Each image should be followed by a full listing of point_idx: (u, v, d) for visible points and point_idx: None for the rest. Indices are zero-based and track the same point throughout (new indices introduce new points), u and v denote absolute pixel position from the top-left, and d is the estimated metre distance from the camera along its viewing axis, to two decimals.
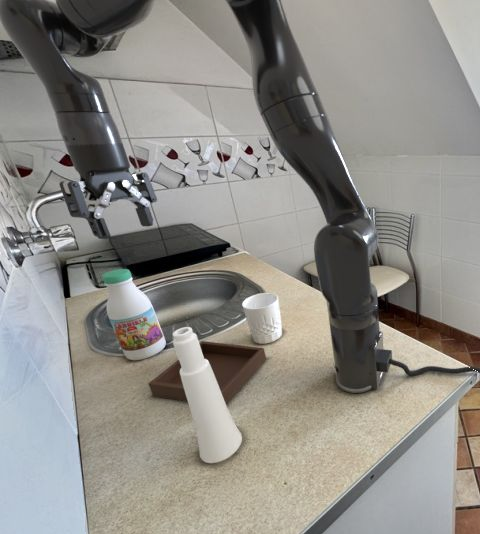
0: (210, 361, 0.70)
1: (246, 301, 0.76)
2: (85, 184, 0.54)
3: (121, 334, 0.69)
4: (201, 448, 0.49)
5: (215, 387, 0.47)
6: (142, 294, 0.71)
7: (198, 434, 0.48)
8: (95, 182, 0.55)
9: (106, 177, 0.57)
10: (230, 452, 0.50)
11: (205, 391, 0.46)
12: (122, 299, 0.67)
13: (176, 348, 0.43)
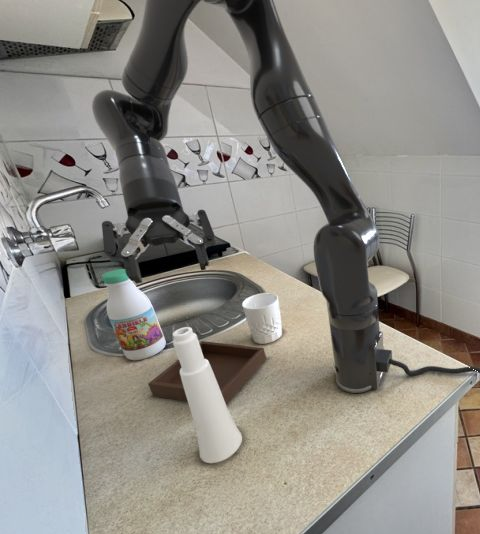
0: (210, 361, 0.70)
1: (246, 301, 0.76)
2: (125, 225, 0.50)
3: (121, 334, 0.69)
4: (201, 448, 0.49)
5: (215, 387, 0.47)
6: (142, 294, 0.71)
7: (198, 434, 0.48)
8: (133, 221, 0.50)
9: (148, 216, 0.52)
10: (230, 452, 0.50)
11: (205, 391, 0.46)
12: (122, 299, 0.67)
13: (176, 348, 0.43)
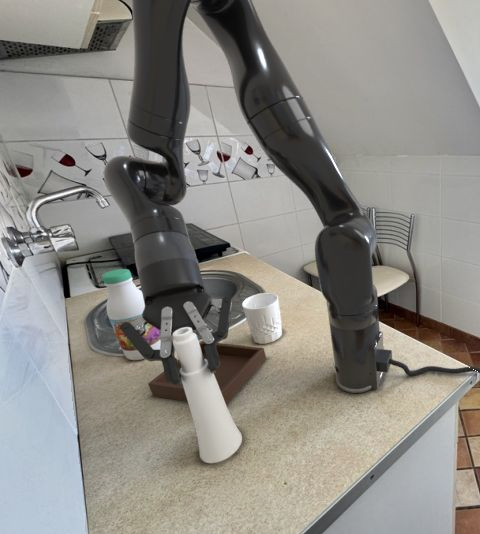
0: None
1: (246, 301, 0.76)
2: (142, 316, 0.44)
3: (121, 334, 0.69)
4: (201, 448, 0.49)
5: (215, 387, 0.47)
6: (142, 294, 0.71)
7: (198, 434, 0.48)
8: (150, 311, 0.44)
9: (168, 303, 0.46)
10: (230, 452, 0.50)
11: (205, 391, 0.46)
12: (122, 299, 0.67)
13: (176, 348, 0.43)
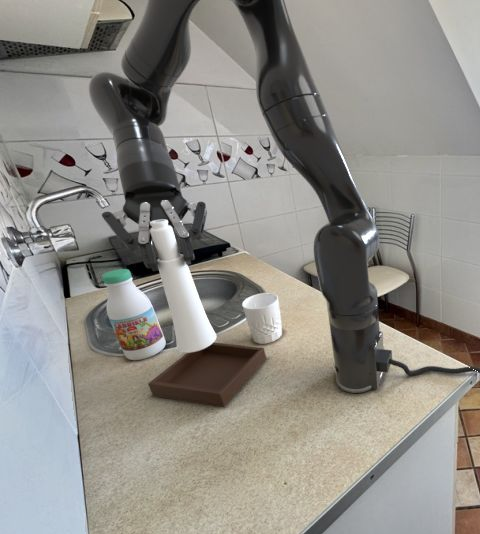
0: (210, 361, 0.70)
1: (246, 301, 0.76)
2: None
3: (121, 334, 0.69)
4: (177, 338, 0.54)
5: (190, 280, 0.52)
6: (142, 294, 0.71)
7: (174, 324, 0.53)
8: (130, 205, 0.49)
9: (146, 201, 0.50)
10: (205, 345, 0.55)
11: (180, 280, 0.50)
12: (122, 299, 0.67)
13: (153, 235, 0.48)
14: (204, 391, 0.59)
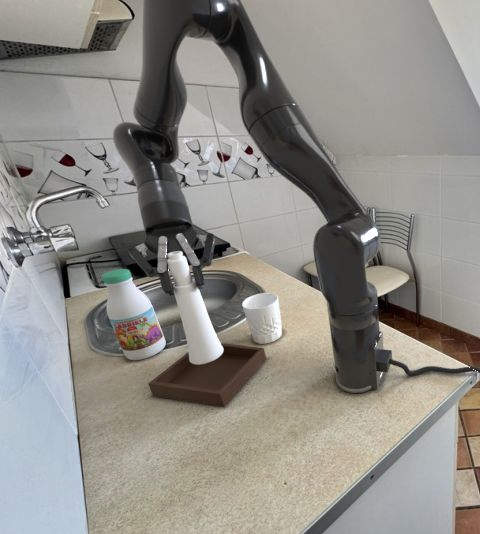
0: None
1: (246, 301, 0.76)
2: (143, 243, 0.57)
3: (121, 334, 0.69)
4: (190, 352, 0.62)
5: (201, 302, 0.60)
6: (142, 294, 0.71)
7: (187, 340, 0.61)
8: (150, 239, 0.57)
9: (164, 234, 0.59)
10: (213, 357, 0.63)
11: (193, 303, 0.59)
12: (122, 299, 0.67)
13: (170, 265, 0.56)
14: (204, 391, 0.59)
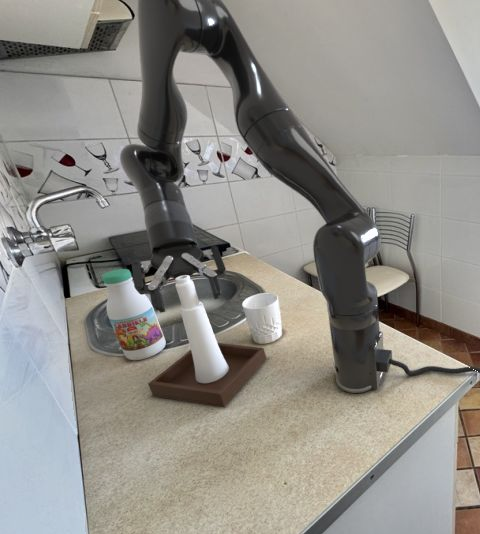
0: None
1: (246, 301, 0.76)
2: (150, 262, 0.59)
3: (121, 334, 0.69)
4: (196, 371, 0.64)
5: (207, 323, 0.62)
6: None
7: (194, 360, 0.63)
8: (157, 258, 0.59)
9: (170, 254, 0.60)
10: (219, 376, 0.65)
11: (199, 324, 0.60)
12: (122, 299, 0.67)
13: (178, 289, 0.58)
14: (204, 391, 0.59)
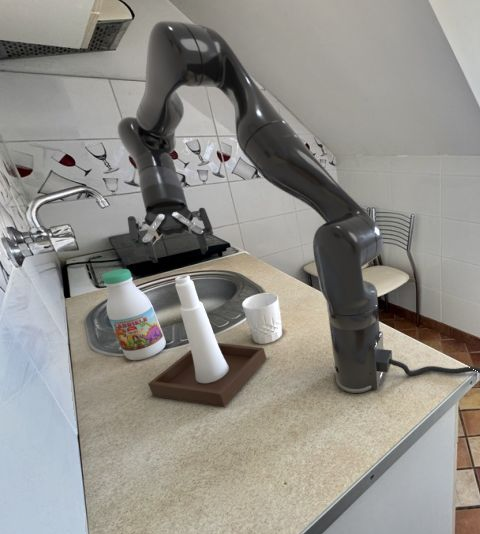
0: None
1: (246, 301, 0.76)
2: (144, 219, 0.67)
3: (121, 334, 0.69)
4: (196, 371, 0.64)
5: (207, 323, 0.62)
6: (142, 294, 0.71)
7: (194, 360, 0.63)
8: (150, 216, 0.67)
9: (162, 213, 0.68)
10: (219, 376, 0.65)
11: (199, 324, 0.60)
12: (122, 299, 0.67)
13: (178, 289, 0.58)
14: (204, 391, 0.59)
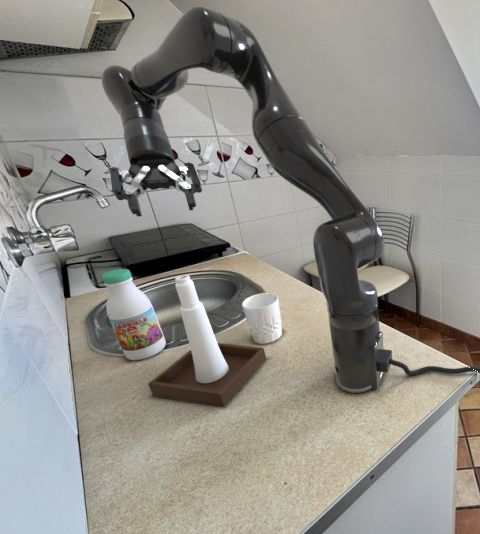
0: None
1: (246, 301, 0.76)
2: (128, 172, 0.63)
3: (121, 334, 0.69)
4: (196, 371, 0.64)
5: (207, 323, 0.62)
6: (142, 294, 0.71)
7: (194, 360, 0.63)
8: (135, 168, 0.63)
9: (147, 166, 0.64)
10: (219, 376, 0.65)
11: (199, 324, 0.60)
12: (122, 299, 0.67)
13: (178, 289, 0.58)
14: (204, 391, 0.59)
